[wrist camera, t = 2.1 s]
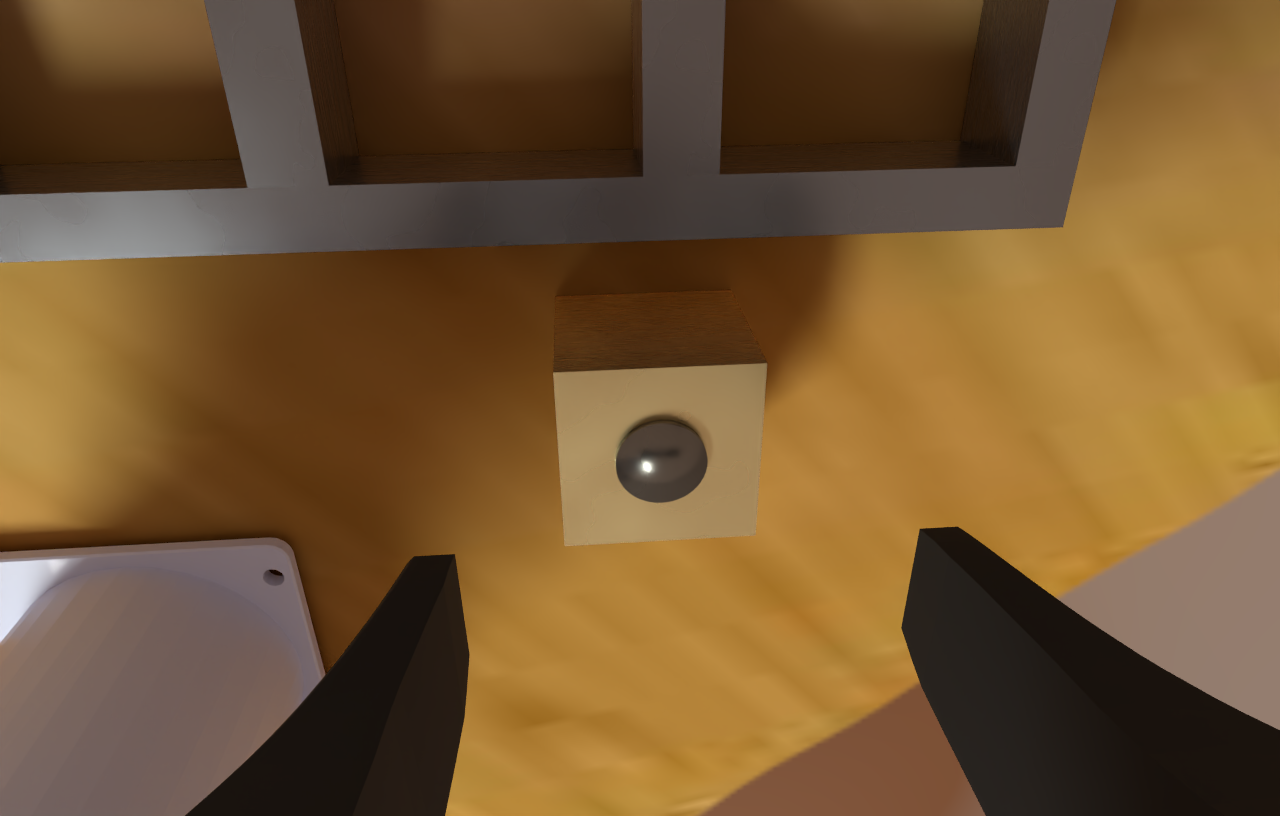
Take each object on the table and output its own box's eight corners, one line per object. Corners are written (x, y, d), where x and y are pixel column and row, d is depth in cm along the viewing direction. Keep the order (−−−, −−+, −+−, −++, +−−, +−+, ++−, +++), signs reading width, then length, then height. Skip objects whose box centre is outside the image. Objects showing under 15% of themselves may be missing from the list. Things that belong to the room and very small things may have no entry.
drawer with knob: (724, 438, 21) (757, 541, 17) (564, 446, 21) (564, 552, 17) (730, 288, 19) (769, 368, 15) (555, 294, 19) (553, 377, 15)
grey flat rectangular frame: (1003, 195, 18) (1062, 226, 16) (-41, 226, 17) (-129, 266, 15) (1093, -262, 15) (1187, -300, 12) (-241, -269, 13) (-401, -314, 11)
